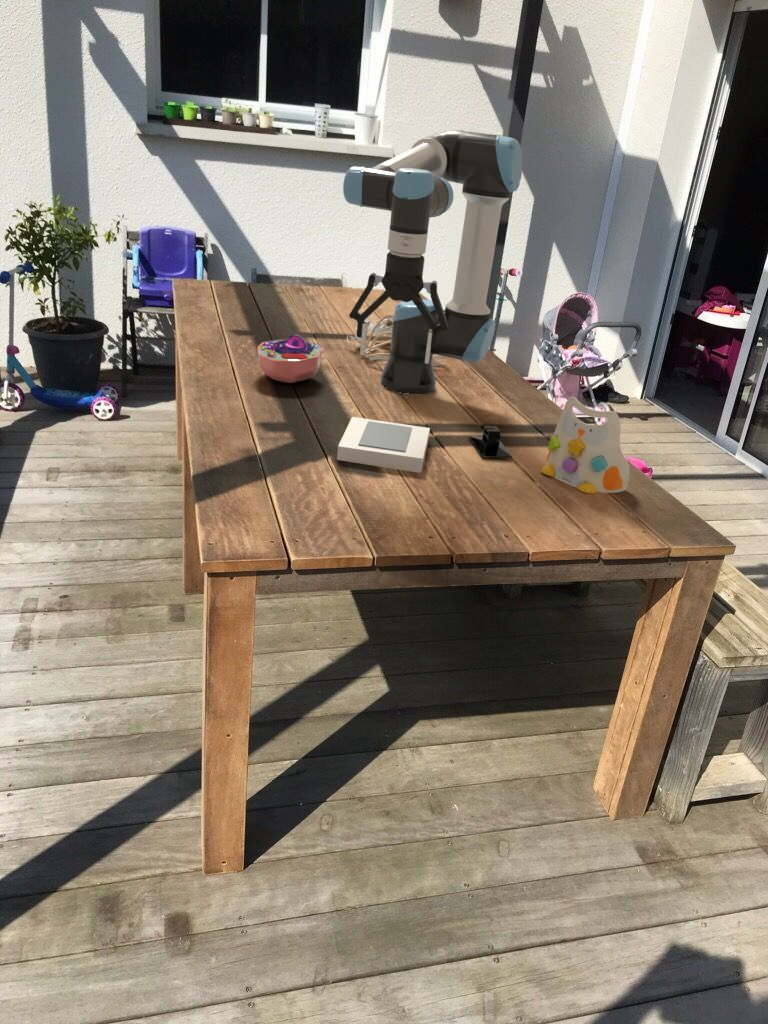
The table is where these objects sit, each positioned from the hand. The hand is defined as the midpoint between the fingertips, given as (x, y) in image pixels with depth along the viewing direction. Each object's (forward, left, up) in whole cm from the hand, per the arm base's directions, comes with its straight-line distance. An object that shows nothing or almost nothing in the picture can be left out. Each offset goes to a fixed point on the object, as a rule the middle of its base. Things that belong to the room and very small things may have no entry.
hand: (394, 357), depth 174 cm
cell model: (-39, -31, -22) cm, 55 cm away
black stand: (-10, +23, -23) cm, 34 cm away
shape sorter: (-1, +42, -22) cm, 48 cm away
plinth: (+1, 0, -22) cm, 22 cm away
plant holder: (-77, -7, -24) cm, 81 cm away
